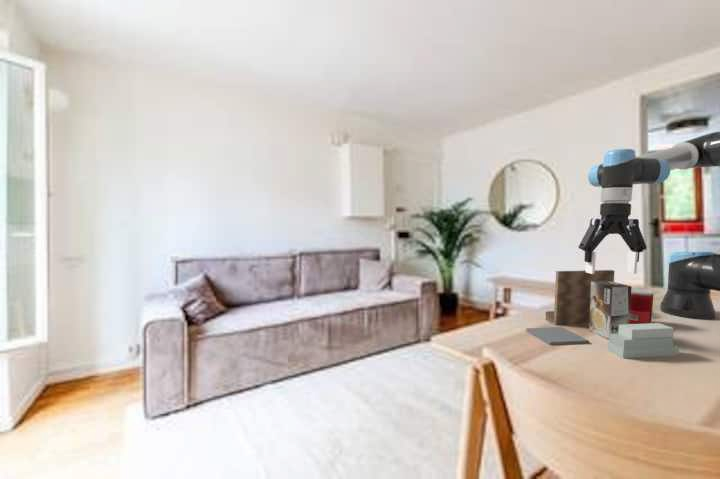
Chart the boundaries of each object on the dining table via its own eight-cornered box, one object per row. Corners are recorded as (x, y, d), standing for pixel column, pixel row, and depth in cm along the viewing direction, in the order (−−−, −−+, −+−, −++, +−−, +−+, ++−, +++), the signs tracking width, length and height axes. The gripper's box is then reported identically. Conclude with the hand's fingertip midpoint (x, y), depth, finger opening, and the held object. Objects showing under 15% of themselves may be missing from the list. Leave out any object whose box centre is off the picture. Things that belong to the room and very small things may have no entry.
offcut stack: (660, 348, 99) (662, 322, 99) (678, 356, 94) (680, 328, 94) (607, 351, 97) (609, 324, 97) (622, 358, 93) (624, 330, 92)
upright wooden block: (598, 318, 126) (601, 267, 125) (611, 323, 121) (614, 270, 119) (545, 319, 124) (547, 268, 123) (555, 325, 119) (558, 271, 117)
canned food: (656, 327, 117) (658, 294, 116) (628, 325, 119) (631, 292, 118) (643, 319, 125) (645, 288, 124) (617, 318, 126) (619, 287, 125)
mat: (561, 329, 115) (561, 326, 115) (589, 343, 103) (589, 340, 103) (526, 330, 113) (526, 328, 113) (549, 344, 101) (550, 342, 101)
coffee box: (630, 339, 105) (633, 286, 104) (609, 340, 105) (613, 286, 104) (606, 329, 115) (609, 280, 113) (587, 330, 114) (590, 280, 113)
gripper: (586, 201, 101) (581, 275, 103) (665, 203, 104) (659, 275, 106) (568, 202, 109) (563, 271, 111) (642, 203, 111) (637, 270, 113)
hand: (610, 273), depth 108 cm, fingers open, 13 cm apart
